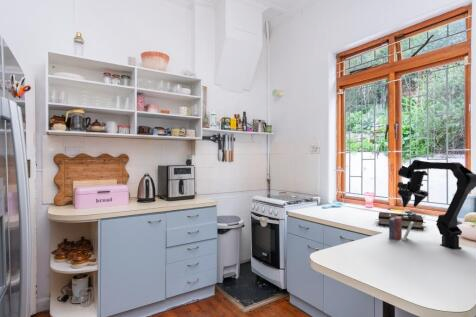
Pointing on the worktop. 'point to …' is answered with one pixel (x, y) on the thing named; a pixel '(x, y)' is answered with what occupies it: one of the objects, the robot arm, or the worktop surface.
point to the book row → (395, 228)
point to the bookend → (408, 231)
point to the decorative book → (406, 220)
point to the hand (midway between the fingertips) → (409, 207)
